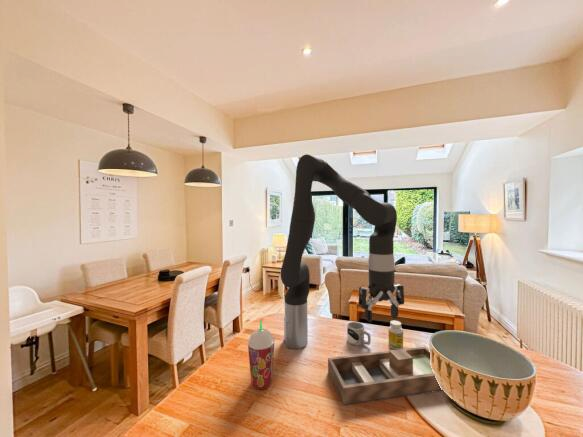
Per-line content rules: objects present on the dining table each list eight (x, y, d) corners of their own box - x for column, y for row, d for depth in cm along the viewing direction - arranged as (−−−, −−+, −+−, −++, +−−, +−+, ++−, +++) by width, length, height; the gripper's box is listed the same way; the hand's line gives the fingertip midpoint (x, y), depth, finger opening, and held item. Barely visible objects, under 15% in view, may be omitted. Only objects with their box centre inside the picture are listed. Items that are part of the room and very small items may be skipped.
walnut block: (398, 375, 76) (398, 359, 76) (389, 365, 81) (389, 350, 81) (412, 373, 77) (413, 357, 77) (403, 363, 82) (403, 348, 82)
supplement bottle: (393, 341, 101) (393, 318, 101) (406, 347, 97) (406, 323, 96) (385, 345, 98) (385, 321, 98) (397, 351, 94) (398, 327, 93)
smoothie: (279, 377, 81) (278, 317, 80) (268, 395, 73) (267, 329, 72) (256, 372, 83) (255, 313, 82) (243, 389, 75) (242, 325, 75)
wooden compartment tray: (343, 405, 69) (343, 388, 69) (328, 372, 83) (327, 357, 82) (456, 388, 75) (457, 372, 74) (424, 360, 88) (424, 346, 88)
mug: (344, 341, 102) (344, 325, 101) (353, 335, 106) (353, 320, 106) (365, 351, 94) (365, 334, 94) (374, 344, 99) (374, 328, 99)
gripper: (394, 263, 81) (394, 312, 82) (354, 266, 78) (354, 316, 79) (409, 268, 74) (409, 322, 74) (366, 272, 71) (366, 327, 71)
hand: (381, 319), depth 77 cm, fingers open, 8 cm apart
